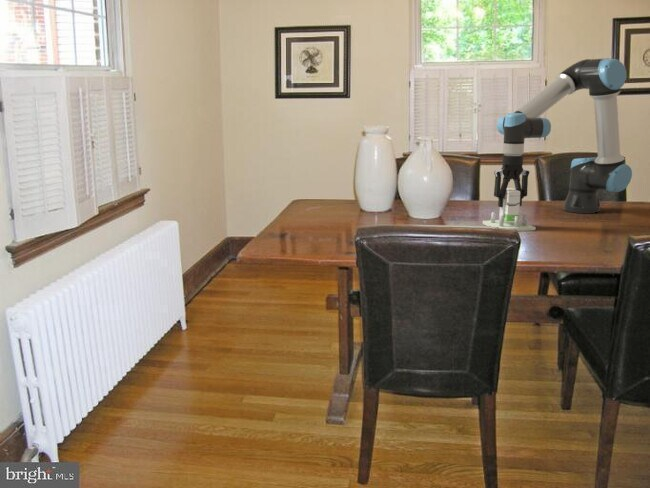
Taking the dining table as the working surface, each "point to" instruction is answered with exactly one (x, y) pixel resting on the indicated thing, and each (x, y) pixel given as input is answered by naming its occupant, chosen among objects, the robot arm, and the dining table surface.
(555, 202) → the dining table surface
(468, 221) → the dining table surface
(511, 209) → the ink box
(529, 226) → the pin tray
